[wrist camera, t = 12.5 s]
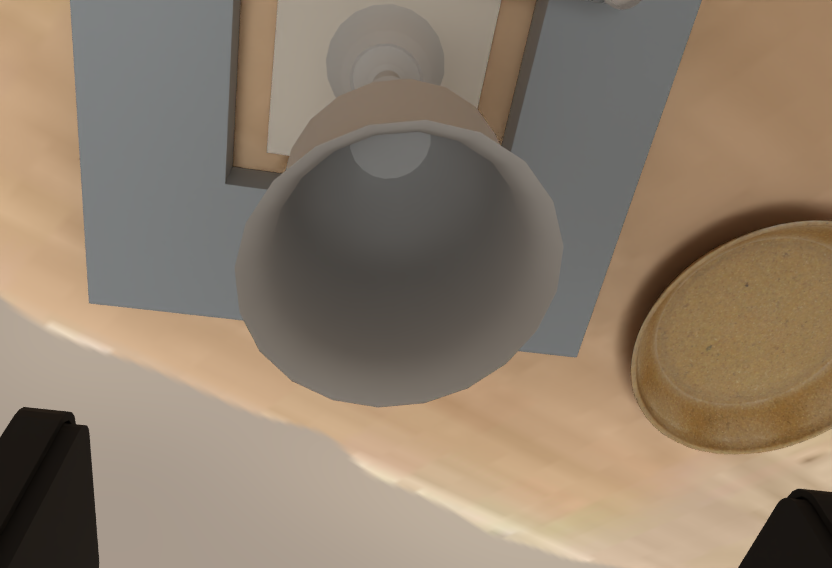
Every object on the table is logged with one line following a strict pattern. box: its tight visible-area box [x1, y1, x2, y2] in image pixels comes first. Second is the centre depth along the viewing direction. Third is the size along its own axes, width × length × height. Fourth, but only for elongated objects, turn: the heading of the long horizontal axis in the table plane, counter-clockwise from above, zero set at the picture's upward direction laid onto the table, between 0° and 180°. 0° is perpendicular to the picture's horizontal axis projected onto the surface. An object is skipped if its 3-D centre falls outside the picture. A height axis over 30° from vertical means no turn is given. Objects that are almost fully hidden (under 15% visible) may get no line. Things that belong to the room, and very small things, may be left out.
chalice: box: [234, 4, 563, 407], centre depth 23 cm, size 7×7×18 cm
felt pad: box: [267, 0, 501, 156], centre depth 31 cm, size 9×9×1 cm
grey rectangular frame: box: [70, 0, 702, 357], centre depth 32 cm, size 24×18×2 cm
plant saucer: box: [631, 220, 832, 454], centre depth 39 cm, size 15×15×3 cm
